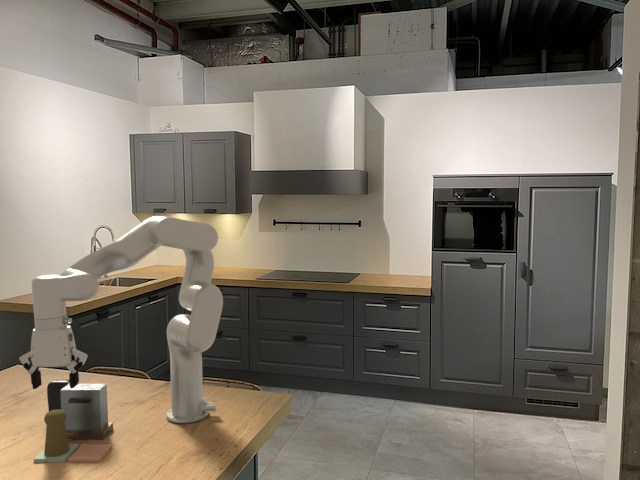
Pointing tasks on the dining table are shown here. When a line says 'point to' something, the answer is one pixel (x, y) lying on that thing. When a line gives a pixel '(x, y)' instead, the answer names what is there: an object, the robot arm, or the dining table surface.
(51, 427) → the brown pepper mill
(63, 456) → the green pad
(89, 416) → the grey unit
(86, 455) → the terracotta pad
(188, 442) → the dining table surface
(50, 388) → the battery charger
